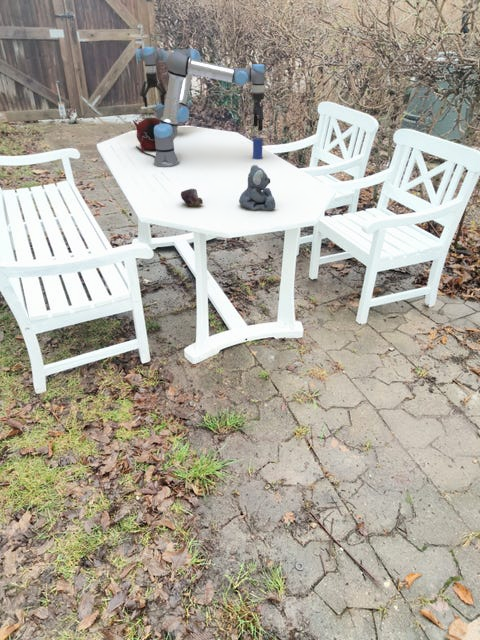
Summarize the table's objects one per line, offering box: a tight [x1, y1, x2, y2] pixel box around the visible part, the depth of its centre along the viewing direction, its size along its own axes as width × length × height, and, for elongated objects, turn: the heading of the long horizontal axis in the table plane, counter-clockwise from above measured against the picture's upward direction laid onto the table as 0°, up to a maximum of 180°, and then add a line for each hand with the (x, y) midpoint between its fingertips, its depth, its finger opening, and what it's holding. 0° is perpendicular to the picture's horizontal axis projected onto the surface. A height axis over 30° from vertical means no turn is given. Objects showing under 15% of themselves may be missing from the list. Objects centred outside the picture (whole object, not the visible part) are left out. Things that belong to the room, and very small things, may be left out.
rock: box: [180, 188, 204, 207], centre depth 229 cm, size 12×9×10 cm
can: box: [252, 137, 264, 160], centre depth 301 cm, size 6×6×12 cm
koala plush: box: [238, 164, 276, 211], centre depth 224 cm, size 17×18×20 cm
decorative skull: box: [132, 117, 160, 153], centre depth 323 cm, size 21×24×25 cm
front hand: (257, 128), depth 294 cm, fingers open, 13 cm apart
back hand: (154, 105), depth 325 cm, fingers open, 13 cm apart
